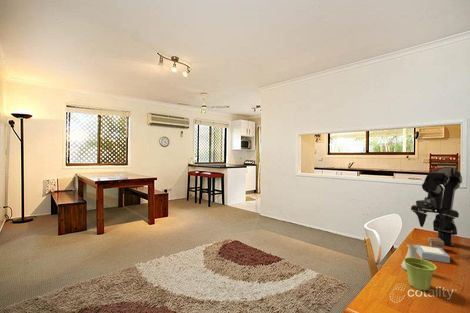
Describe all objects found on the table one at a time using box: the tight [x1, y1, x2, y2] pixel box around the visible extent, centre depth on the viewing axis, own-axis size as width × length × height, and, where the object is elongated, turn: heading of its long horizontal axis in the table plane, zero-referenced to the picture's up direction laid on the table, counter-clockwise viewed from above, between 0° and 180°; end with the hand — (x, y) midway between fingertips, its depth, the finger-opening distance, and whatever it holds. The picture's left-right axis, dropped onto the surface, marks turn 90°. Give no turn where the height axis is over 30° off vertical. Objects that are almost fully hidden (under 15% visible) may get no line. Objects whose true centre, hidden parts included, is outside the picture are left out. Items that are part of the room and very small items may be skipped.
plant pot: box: [403, 257, 437, 292], centre depth 86 cm, size 9×9×9 cm
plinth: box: [415, 244, 451, 264], centre depth 111 cm, size 10×10×3 cm
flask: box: [400, 244, 418, 272], centre depth 98 cm, size 7×7×10 cm
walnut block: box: [427, 236, 445, 251], centre depth 119 cm, size 5×5×5 cm
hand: (430, 228), depth 113 cm, fingers open, 9 cm apart
